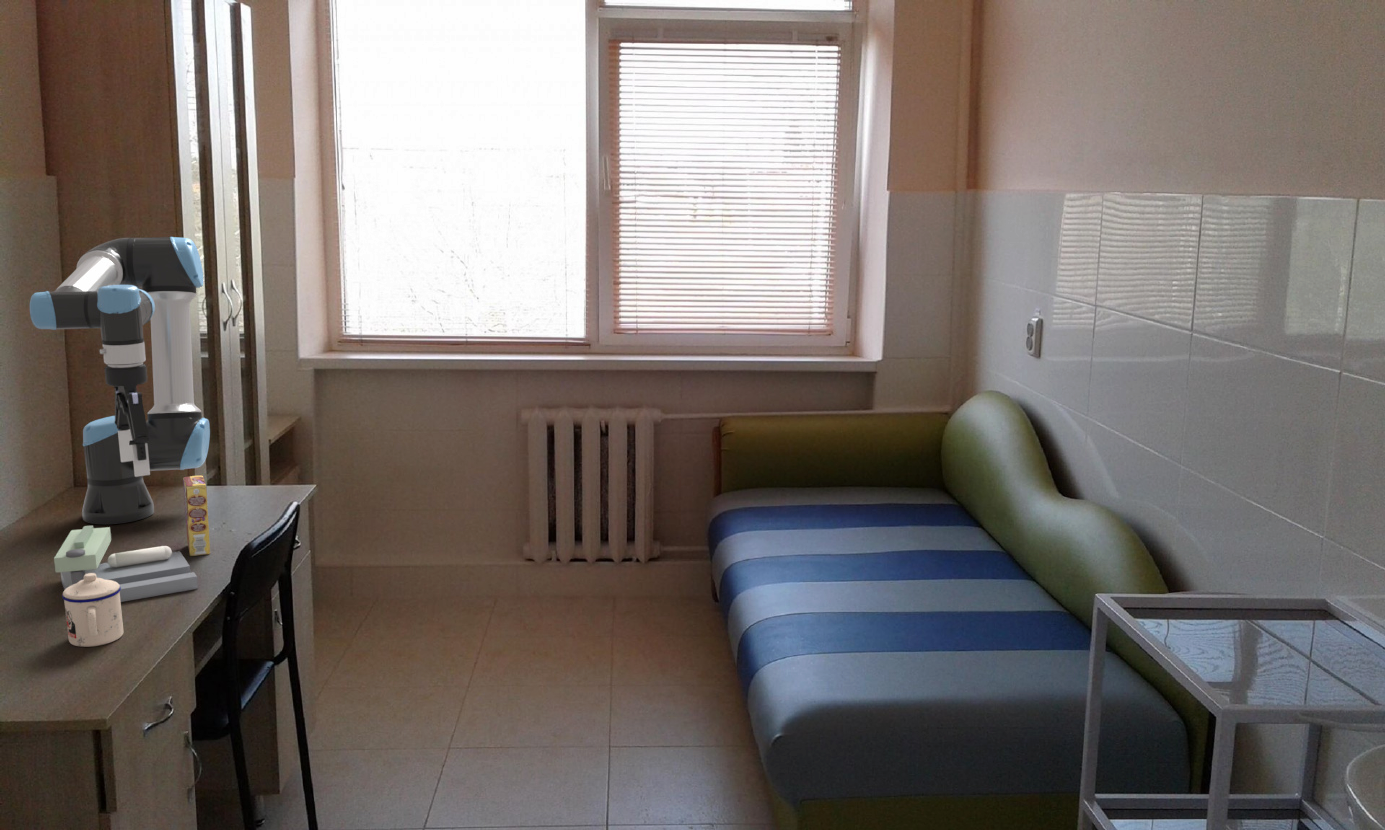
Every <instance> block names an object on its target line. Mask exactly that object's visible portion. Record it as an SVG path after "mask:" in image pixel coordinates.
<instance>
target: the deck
mask: <svg viewBox="0 0 1385 830" xmlns="http://www.w3.org/2000/svg"><path fill="white" fill-rule="evenodd" d="M88 573H95V574H96V576H97V578H102V579H105V580H112V581H115V582H117V583H118V584H119V585H120V587H121V590H120V602H121V603H122V602H123V603H124V602H128V601H134V600H135V601H136V600H140V599H146V598H151V597H157V596H163V595H168V594H174V593H175V594H176V593H180V592H186V591H192V590H197V589H199V585H198V576H197V574H196V573H195V572H194V571H191V565H190V564H189V562H188V561H187V560H186V558H185V557H184V556H183V554H182V552H181V550H179V551H172V555H171V556H170V558H168V559H166V560H160V561H154V562H148V563H141V564H135V565H129V566H123V567H117V568H114V567H111V566H110V565H109V564H108V562H103V563H101V562H100V564H99V566H98V568H97V569H91V570H79V571H68V572H60V580H61V584H62V587H63V590H65V589H66V588H68V587H69V586H71V585H74V584H76V583H78V582H79V581H81V580H83V579H84V575H85V574H88Z"/></svg>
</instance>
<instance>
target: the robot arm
mask: <svg viewBox="0 0 1385 830" xmlns="http://www.w3.org/2000/svg"><path fill="white" fill-rule="evenodd" d="M76 263H77V264H76V269H75V270H74V271H73V272H72V273H71V274H70V275H69V276H68V277H66V279H65V280H64V281H63V282H62V283H61V284H60V285H59V286H58V287H57V288H56V289H55V290H54V291H48V290H45V291H40V292H34V293H33V294H32V295H31V296H30V301H29V315H30V319H31V322H32V325H33V326H34V327H35V328H37V329H39V330H53V331H56V330H77V329H78V330H79V329H81V330H82V329H100V335H101V336H100V337H101V344H102V348H100V349H99V354H100V355H103V363H104V364H105V365H106V366H105V367H104V379H105V383H106V385H108V386H109V387H113V388H114V415H111V416H106V417H103V418H99V419H95V420H93V421H90V422H88V424H86V425H85V426H84V427H83V429H82V446H83V453H84V461H85V462H84V463H85V470H86V471H85V472H86V479H87V480H86V481H87V490H86V493H85V497H84V501H83V506H82V511H81V515H82V521H84V522H85V523H88V524H92V525H117V524H126V523H132V522H136V521H140V520H144V519H146V518H149V517H150V516H152V515H153V514H155V505H154V501H153V499H152V497H151V494H150V492H149V490H148V489H147V485H146V484H145V482H144V476H150V475H151V472H152V471H170V470H172V471H173V470H175V471H176V470H177V471H178V470H180V471H184V470H188V469H197V468H200V467H202V466H203V465H204V463H205V462H206V459H207V456H208V452H209V446H210V440H211V439H210V438H211V437H210V436H211V429H210V427H211V426H210V421H209V419H208V418H205V417H202V414H203V413H202V410H201V409H200V408H199V407H197V406H196V404H195V396H194V393H195V391H194V370H193V346H192V344H193V343H192V325H191V324H192V322H191V321H192V320H191V302H192V301H193V300H194V299H195V298H196V297H197V288H198V289H200V288H202V287H204V286H203V285H204V272H203V266H202V261H201V256H200V253H199V250H198V248H197V246H196V243H195V242H194V241H193V240H192V239H191V238H189V237H178V236H177V237H176V236H175V237H174V236H169V237H168V236H161V237H159V236H157V237H121V238H116V239H112V240H108V241H106V242H104V243H103V242H102V243H101V244H99V245H97V246H95V247H93V248H91V249H89V250H88V251H86V252H85V253H84V254H83V255H82V256H81V257H80V258H79V260H78V261H77V262H76ZM149 322H150V330H151V331H150V332H151V333H150V335H151V357H152V358H151V359H152V379H153V380H152V382H153V386H152V387H153V404H154V405H152V408H151V409H150V410H148V412H147V419H146V415H145V410H144V402H143V394H142V392H141V391H140V392H139V391H138V388H137V387H138V385H143V384H145V383H147V382H148V372H147V371H148V369H147V365H146V364H145V363H144V362H146V360H147V358H146V357H147V356H146V345H145V340H144V328H143V327H144V325H145V324H147V323H149Z"/></svg>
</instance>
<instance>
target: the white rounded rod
mask: <svg viewBox="0 0 1385 830" xmlns="http://www.w3.org/2000/svg"><path fill="white" fill-rule="evenodd" d="M172 552H173V551H172V548H171V547H170V546H167V545H161V546H154V547H148V548H140V549H136V550H135V549H134V550H128V551H121V552H116V553H111V554H110V555H109V556H108V557H107V563H108V564H109V565H110V566H111V567H114V568H117V567H123V566H129V565H135V564H141V563H148V562H154V561H160V560H166V559H168V558H170V556H171V555H172Z"/></svg>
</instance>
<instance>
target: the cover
mask: <svg viewBox="0 0 1385 830" xmlns="http://www.w3.org/2000/svg"><path fill="white" fill-rule="evenodd" d="M111 541H112V533H111V527H110V526H109V527H108V526H107V527H94V525H84V526H83V527H82V529H71V530H70V532H69V533H68V535H67V537H65V540H64V541H63V543H62V544H61V546H60V548H59V549H58V551H57V553H56V555H55V556H54V557H53V562H54V571H55V573H56V574H57V573H61V572H68V571H79V570H91V569H97V568H98V566H99V564H101V562H102V559H103V558H104V555H105V554H106V551H107V550H108V548H109V546H110V544H111Z"/></svg>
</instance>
